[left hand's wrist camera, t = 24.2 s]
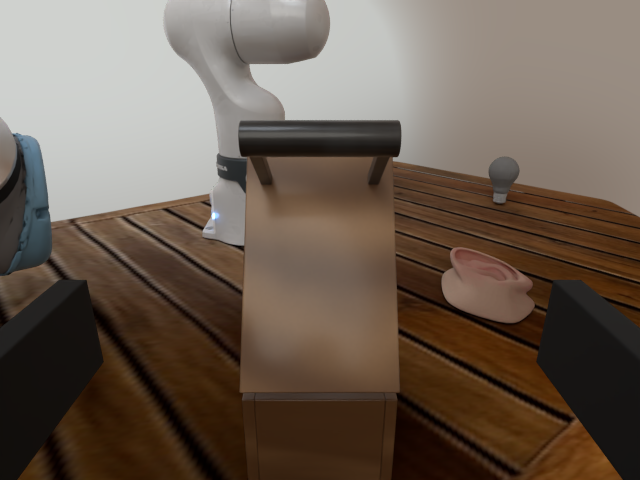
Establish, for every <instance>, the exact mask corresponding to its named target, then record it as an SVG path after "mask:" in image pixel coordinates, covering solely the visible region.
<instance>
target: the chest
mask: <svg viewBox="0 0 640 480" xmlns="http://www.w3.org/2000/svg"><path fill="white" fill-rule="evenodd" d="M397 401H398V400H397V396H396V393H244V394H243V398H242V408H243V420H244V433H245V446H246V459H247V472H248V480H391V478H392V465H393V452H394V439H395V426H396V413H397Z"/></svg>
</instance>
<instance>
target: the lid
mask: <svg viewBox="0 0 640 480" xmlns="http://www.w3.org/2000/svg"><path fill="white" fill-rule="evenodd" d="M238 143H239V151H240V154H241V156H242V157H247V174H246V205H245V237H244V268H243V300H242V331H241V363H240V393H399V392H400V376H399V345H398V313H397V282H396V251H395V219H394V188H393V157H398V156H399V153H400V147H401V125H400V122H399V121H398V120H241V121H240V123H239V128H238Z"/></svg>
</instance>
